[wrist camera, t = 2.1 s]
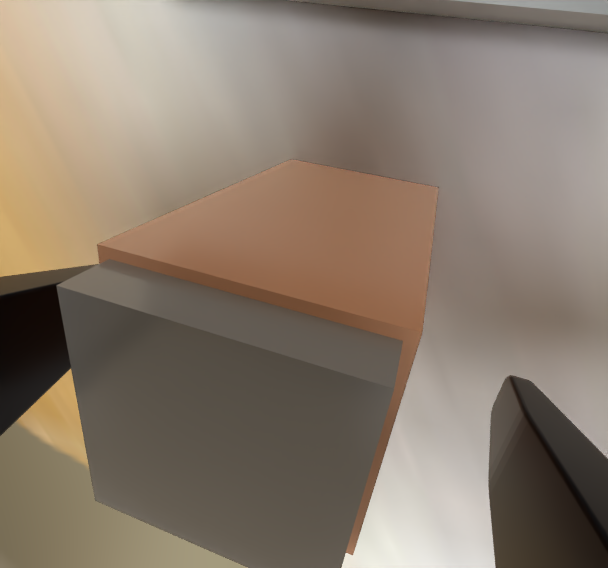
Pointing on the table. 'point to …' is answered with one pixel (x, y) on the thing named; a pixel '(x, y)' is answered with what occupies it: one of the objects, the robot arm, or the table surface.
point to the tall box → (253, 359)
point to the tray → (499, 10)
